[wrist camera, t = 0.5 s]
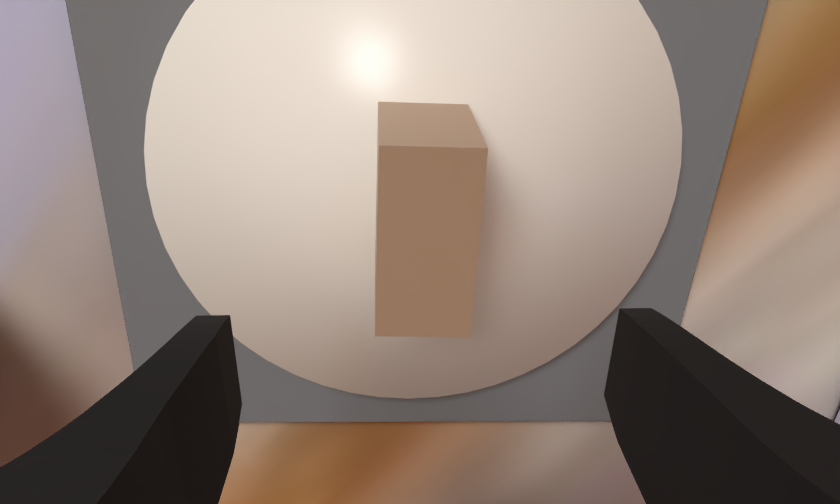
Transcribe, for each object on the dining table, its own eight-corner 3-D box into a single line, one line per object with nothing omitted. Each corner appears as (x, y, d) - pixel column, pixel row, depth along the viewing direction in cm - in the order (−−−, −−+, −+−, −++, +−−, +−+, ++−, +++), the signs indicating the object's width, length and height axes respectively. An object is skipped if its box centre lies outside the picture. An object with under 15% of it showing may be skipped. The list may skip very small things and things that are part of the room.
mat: (802, -161, 16) (811, -162, 16) (650, 413, 25) (654, 420, 24) (34, -208, 15) (26, -211, 15) (146, 414, 23) (143, 422, 23)
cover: (733, -94, 17) (836, -93, 13) (621, 386, 24) (667, 478, 20) (108, -129, 15) (24, -138, 12) (183, 387, 22) (145, 483, 19)
